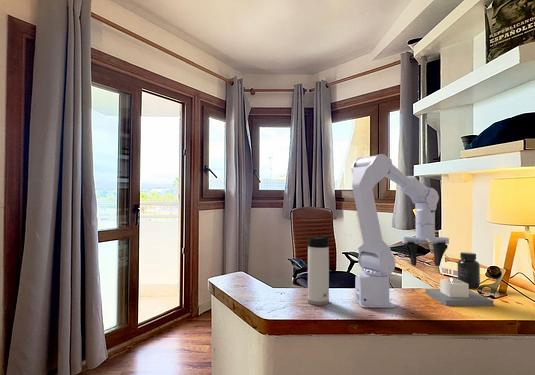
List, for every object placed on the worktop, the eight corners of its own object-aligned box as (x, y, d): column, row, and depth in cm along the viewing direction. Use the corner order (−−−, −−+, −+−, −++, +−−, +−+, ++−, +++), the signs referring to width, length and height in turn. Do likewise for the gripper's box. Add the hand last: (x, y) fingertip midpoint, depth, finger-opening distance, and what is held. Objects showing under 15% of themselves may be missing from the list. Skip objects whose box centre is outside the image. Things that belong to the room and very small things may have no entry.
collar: (450, 297, 96) (450, 283, 97) (440, 291, 102) (440, 279, 102) (468, 297, 96) (468, 284, 96) (457, 292, 102) (457, 279, 102)
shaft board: (445, 305, 93) (445, 283, 93) (425, 293, 105) (425, 273, 105) (493, 305, 93) (492, 283, 93) (467, 293, 105) (467, 274, 105)
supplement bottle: (484, 289, 111) (484, 254, 111) (464, 289, 111) (464, 254, 111) (472, 284, 117) (471, 251, 118) (453, 284, 118) (453, 251, 118)
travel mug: (331, 305, 92) (331, 236, 93) (308, 305, 92) (308, 236, 93) (328, 299, 98) (328, 234, 99) (307, 298, 99) (307, 234, 99)
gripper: (408, 224, 101) (408, 267, 100) (454, 225, 101) (454, 268, 100) (399, 223, 108) (399, 263, 107) (442, 223, 108) (442, 263, 107)
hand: (425, 265), depth 104 cm, fingers open, 7 cm apart
